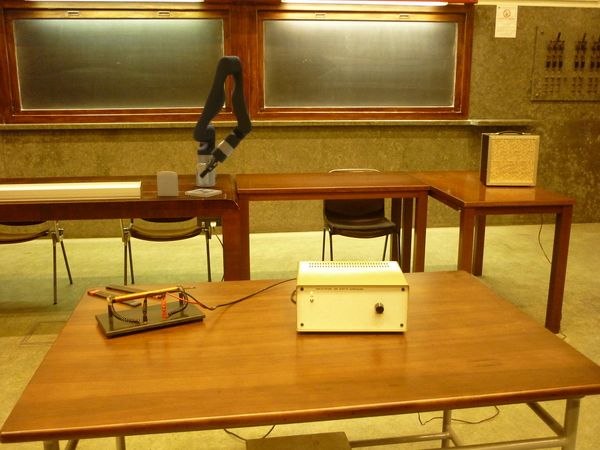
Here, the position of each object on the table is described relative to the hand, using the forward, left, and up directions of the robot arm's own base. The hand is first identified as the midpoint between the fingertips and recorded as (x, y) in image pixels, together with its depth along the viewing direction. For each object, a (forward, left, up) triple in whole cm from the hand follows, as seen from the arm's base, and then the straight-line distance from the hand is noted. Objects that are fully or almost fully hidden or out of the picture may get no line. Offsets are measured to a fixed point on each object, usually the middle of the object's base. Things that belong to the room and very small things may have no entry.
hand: (199, 176), depth 291 cm
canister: (+1, +1, -5) cm, 5 cm away
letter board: (+1, +1, -9) cm, 9 cm away
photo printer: (-11, -12, -10) cm, 19 cm away
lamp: (-37, +54, -10) cm, 67 cm away
